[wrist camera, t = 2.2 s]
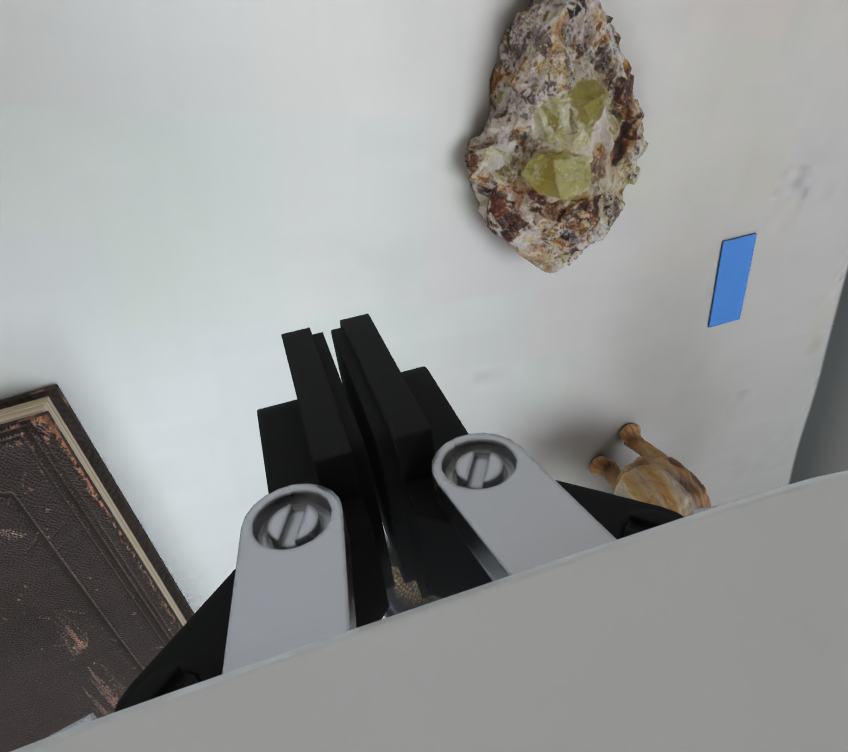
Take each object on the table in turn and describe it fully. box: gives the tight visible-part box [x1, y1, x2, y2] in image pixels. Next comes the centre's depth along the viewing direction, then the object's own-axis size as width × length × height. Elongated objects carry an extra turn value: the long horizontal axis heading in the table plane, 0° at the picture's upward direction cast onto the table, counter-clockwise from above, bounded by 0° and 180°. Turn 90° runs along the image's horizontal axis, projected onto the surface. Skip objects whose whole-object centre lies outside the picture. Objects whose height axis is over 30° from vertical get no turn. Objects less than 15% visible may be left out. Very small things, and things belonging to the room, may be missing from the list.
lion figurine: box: [590, 424, 711, 517], centre depth 35 cm, size 15×5×9 cm, turn 44°
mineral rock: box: [465, 0, 648, 273], centre depth 25 cm, size 11×4×8 cm
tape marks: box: [708, 233, 757, 327], centre depth 28 cm, size 24×2×1 cm, turn 7°
